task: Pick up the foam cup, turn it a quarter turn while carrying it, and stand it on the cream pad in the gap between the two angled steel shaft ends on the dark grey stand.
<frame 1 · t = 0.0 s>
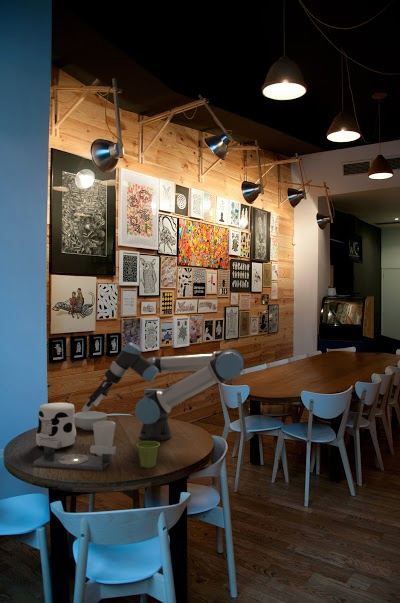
hand: (89, 408, 229), 15 cm above the table, tool tilted 35°, fingers open, 13 cm apart
foam cup: (103, 454, 210), on the table
milk container: (56, 446, 220), on the table
cereal bowl: (89, 428, 251), on the table
shaft stand: (73, 463, 198), on the table
plant pot: (147, 466, 197), on the table
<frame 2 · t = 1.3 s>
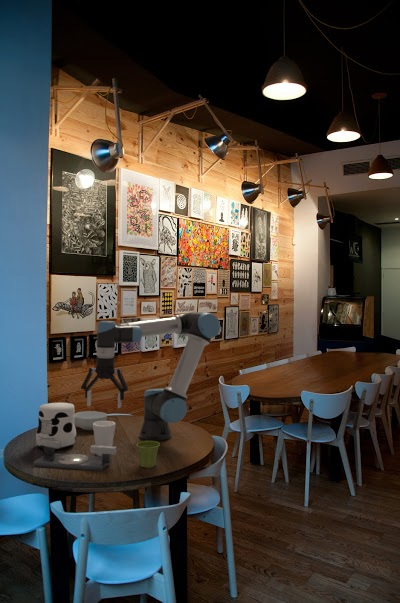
hand: (104, 406, 210), 20 cm above the table, tool pointing down, fingers open, 13 cm apart
nothing on the table moved.
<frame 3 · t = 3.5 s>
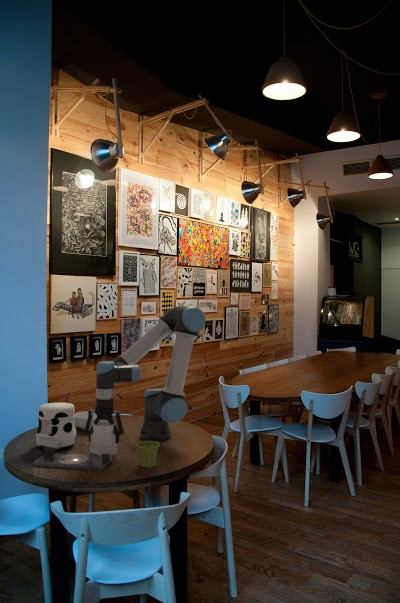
hand: (103, 450, 210), 2 cm above the table, tool pointing down, fingers closed on foam cup, 9 cm apart
foam cup: (103, 454, 210), on the table, touching gripper
everything else where it was.
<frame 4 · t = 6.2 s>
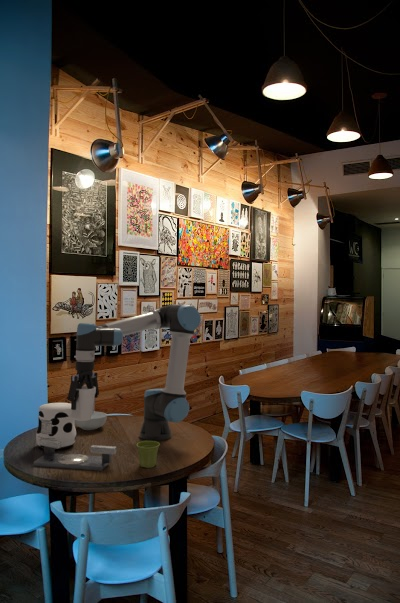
hand: (83, 415, 201), 18 cm above the table, tool pointing down, fingers closed on foam cup, 9 cm apart
foam cup: (82, 419, 201), point 17 cm above the table, touching gripper
everything else where it was.
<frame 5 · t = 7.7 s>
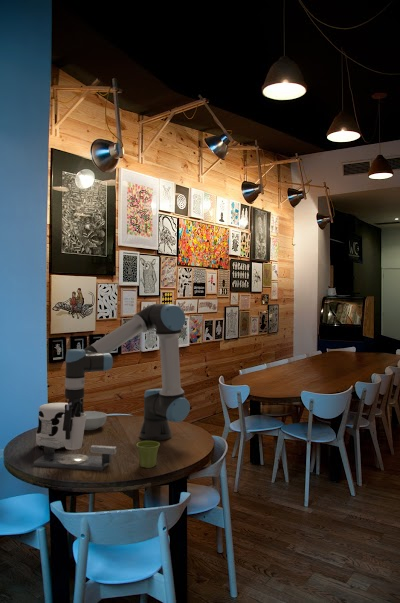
hand: (73, 443, 198), 8 cm above the table, tool pointing down, fingers closed on foam cup, 9 cm apart
foam cup: (73, 447, 198), point 6 cm above the table, touching gripper
everything else where it was.
when the fingers open (5 cm above the table, at t = 8.9 s): foam cup drops 1 cm, resting on shaft stand.
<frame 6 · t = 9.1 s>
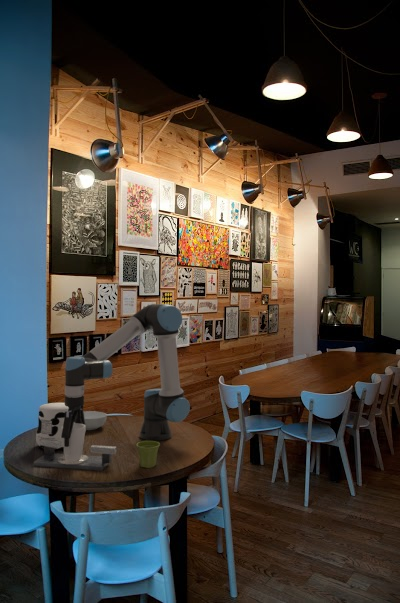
hand: (73, 449, 198), 5 cm above the table, tool pointing down, fingers open, 11 cm apart
foam cup: (73, 459, 198), point 2 cm above the table, touching shaft stand
everything else where it was.
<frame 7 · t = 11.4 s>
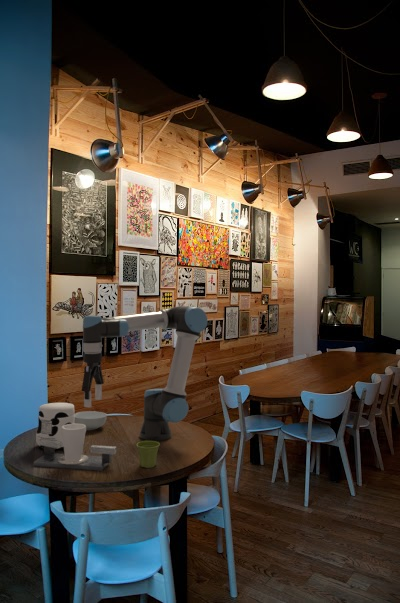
hand: (93, 403, 206), 23 cm above the table, tool pointing down, fingers open, 13 cm apart
nothing on the table moved.
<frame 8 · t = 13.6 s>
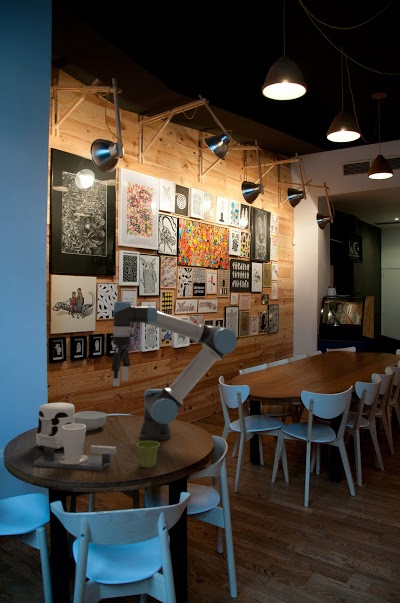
hand: (120, 383, 220), 29 cm above the table, tool pointing down, fingers open, 13 cm apart
nothing on the table moved.
at the end: foam cup 0.1 cm off-centre on the shaft stand, point 1.6 cm above the shaft stand's base; foam cup tilted 0°; the gripper is holding nothing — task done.
